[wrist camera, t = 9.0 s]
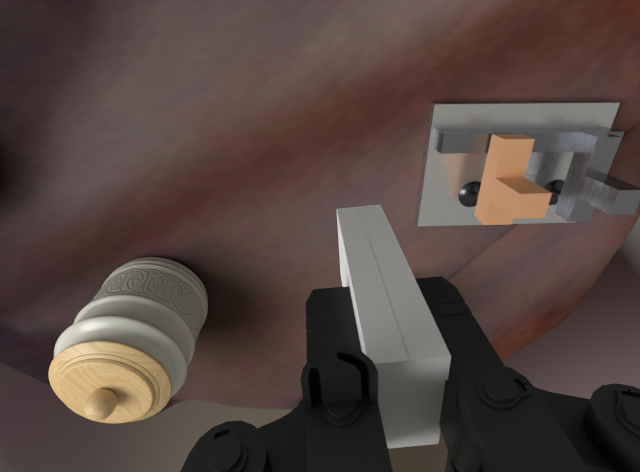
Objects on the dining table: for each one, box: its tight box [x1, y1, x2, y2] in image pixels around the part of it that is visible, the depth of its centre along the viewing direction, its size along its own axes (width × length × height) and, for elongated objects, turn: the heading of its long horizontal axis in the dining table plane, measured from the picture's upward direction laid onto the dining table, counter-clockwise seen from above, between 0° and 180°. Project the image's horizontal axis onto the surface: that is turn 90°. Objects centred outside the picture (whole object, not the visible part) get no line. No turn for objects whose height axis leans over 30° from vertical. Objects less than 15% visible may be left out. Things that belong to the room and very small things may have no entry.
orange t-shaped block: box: [474, 134, 552, 225], centre depth 36 cm, size 9×3×9 cm, turn 0°
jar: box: [49, 257, 208, 423], centre depth 40 cm, size 13×13×18 cm
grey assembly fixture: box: [415, 101, 640, 226], centre depth 37 cm, size 14×20×10 cm
